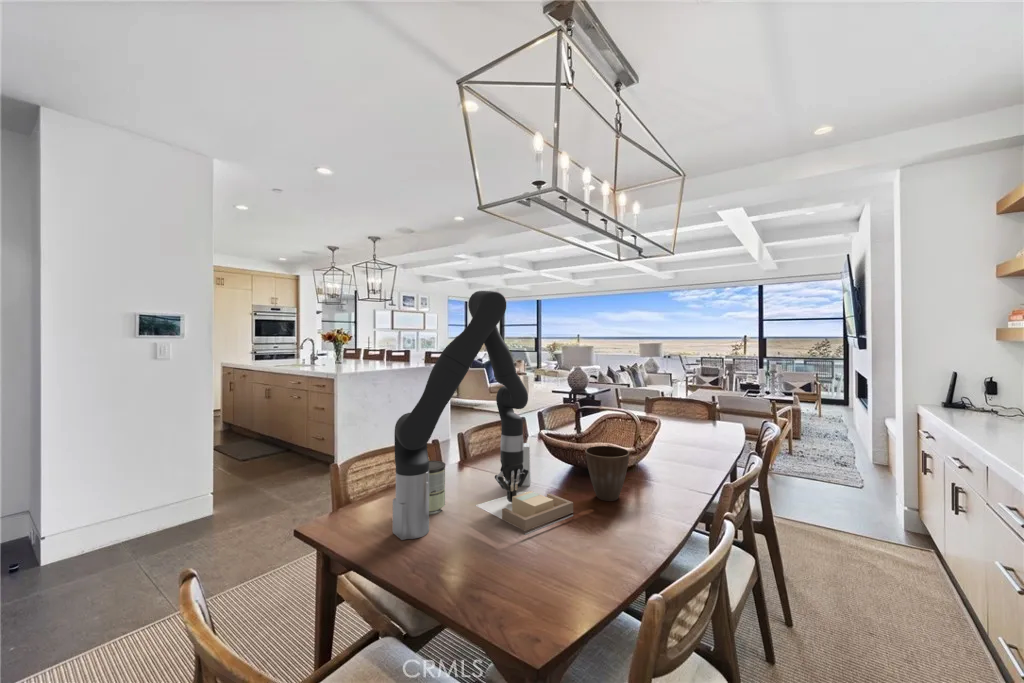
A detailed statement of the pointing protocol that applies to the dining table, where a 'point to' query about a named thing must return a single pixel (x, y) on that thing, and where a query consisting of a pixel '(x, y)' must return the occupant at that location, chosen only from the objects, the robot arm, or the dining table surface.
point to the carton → (530, 503)
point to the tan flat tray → (504, 512)
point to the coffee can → (436, 486)
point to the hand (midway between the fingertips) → (511, 501)
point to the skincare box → (527, 464)
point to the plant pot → (607, 470)
